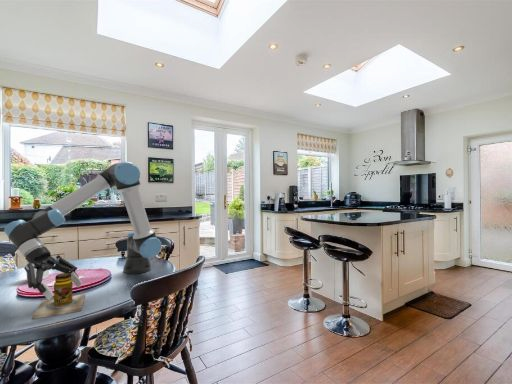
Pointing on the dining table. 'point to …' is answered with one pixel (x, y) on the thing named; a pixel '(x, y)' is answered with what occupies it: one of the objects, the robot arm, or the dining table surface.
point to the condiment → (62, 291)
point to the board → (50, 311)
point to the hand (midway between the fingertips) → (66, 291)
